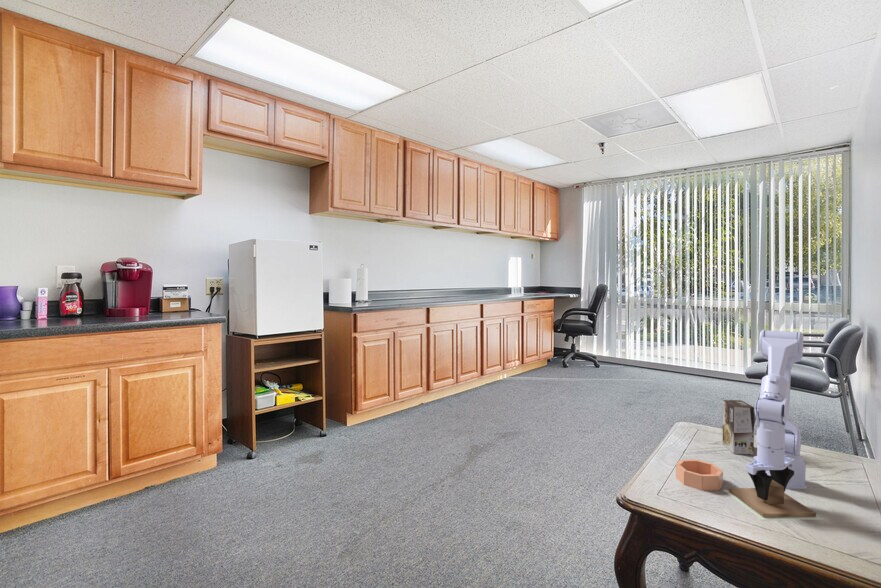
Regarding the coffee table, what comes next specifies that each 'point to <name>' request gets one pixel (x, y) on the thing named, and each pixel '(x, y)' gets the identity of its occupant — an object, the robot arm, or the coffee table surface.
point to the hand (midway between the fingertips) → (770, 496)
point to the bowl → (699, 474)
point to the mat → (772, 517)
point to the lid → (772, 502)
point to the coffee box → (738, 426)
